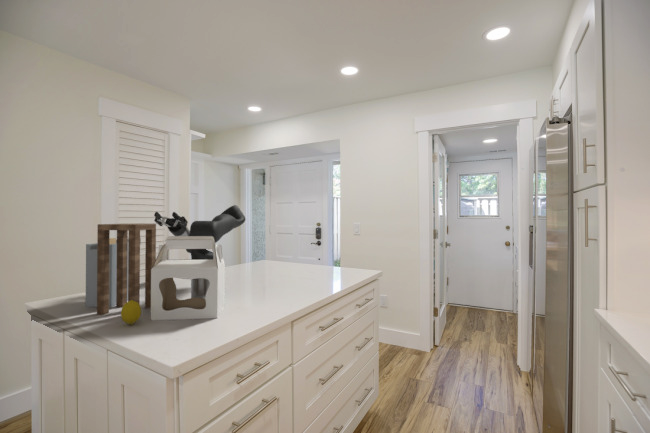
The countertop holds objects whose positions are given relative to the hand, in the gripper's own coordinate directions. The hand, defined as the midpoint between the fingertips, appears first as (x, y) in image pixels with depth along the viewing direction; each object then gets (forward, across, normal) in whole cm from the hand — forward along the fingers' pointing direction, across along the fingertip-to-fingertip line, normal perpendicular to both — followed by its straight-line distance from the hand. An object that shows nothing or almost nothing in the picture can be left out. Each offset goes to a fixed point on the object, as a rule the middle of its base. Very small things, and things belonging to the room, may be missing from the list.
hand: (164, 213), depth 148 cm
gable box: (+10, -29, -49) cm, 58 cm away
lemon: (+21, -16, -55) cm, 61 cm away
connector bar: (+6, +10, -20) cm, 23 cm away
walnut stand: (+8, -4, -47) cm, 48 cm away
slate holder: (0, +10, -42) cm, 43 cm away
